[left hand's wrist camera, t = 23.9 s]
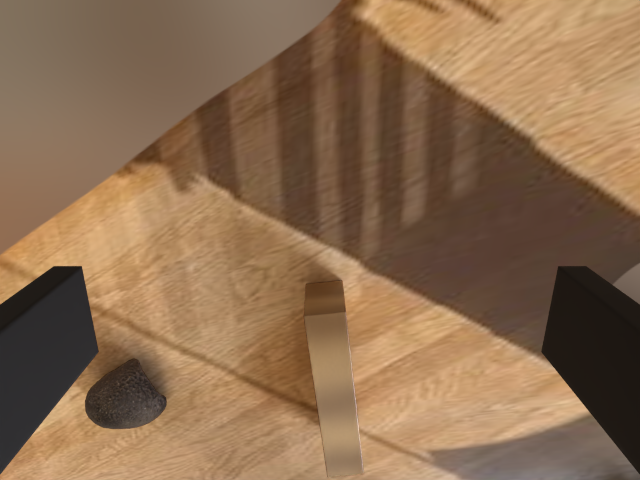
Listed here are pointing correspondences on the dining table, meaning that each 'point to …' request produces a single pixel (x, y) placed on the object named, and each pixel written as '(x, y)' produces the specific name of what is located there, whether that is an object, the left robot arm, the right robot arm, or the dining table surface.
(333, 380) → the bar
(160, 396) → the stone
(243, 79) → the dining table surface
